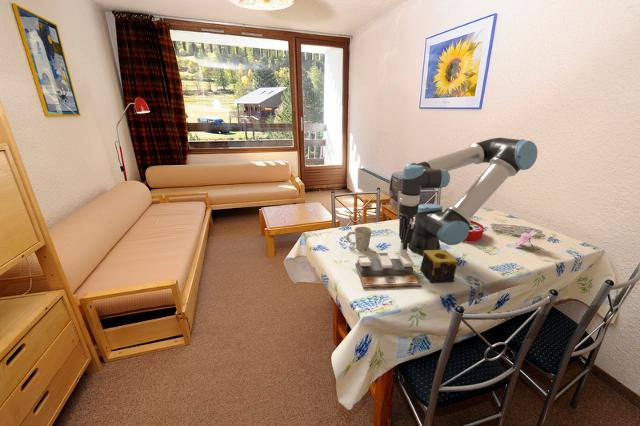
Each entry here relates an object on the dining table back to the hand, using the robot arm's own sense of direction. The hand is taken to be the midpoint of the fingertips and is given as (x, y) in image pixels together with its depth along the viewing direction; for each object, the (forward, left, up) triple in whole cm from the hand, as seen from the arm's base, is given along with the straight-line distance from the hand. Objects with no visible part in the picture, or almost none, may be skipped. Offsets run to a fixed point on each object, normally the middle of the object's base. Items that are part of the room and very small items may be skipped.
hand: (402, 254), depth 120 cm
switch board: (+9, +6, -6) cm, 12 cm away
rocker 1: (+18, +3, -2) cm, 18 cm away
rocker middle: (+9, +3, -2) cm, 9 cm away
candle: (-12, +8, -7) cm, 16 cm away
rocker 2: (0, +3, -2) cm, 4 cm away
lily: (-69, -15, -7) cm, 71 cm away
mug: (+16, -20, -7) cm, 26 cm away
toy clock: (-46, -33, -7) cm, 57 cm away
